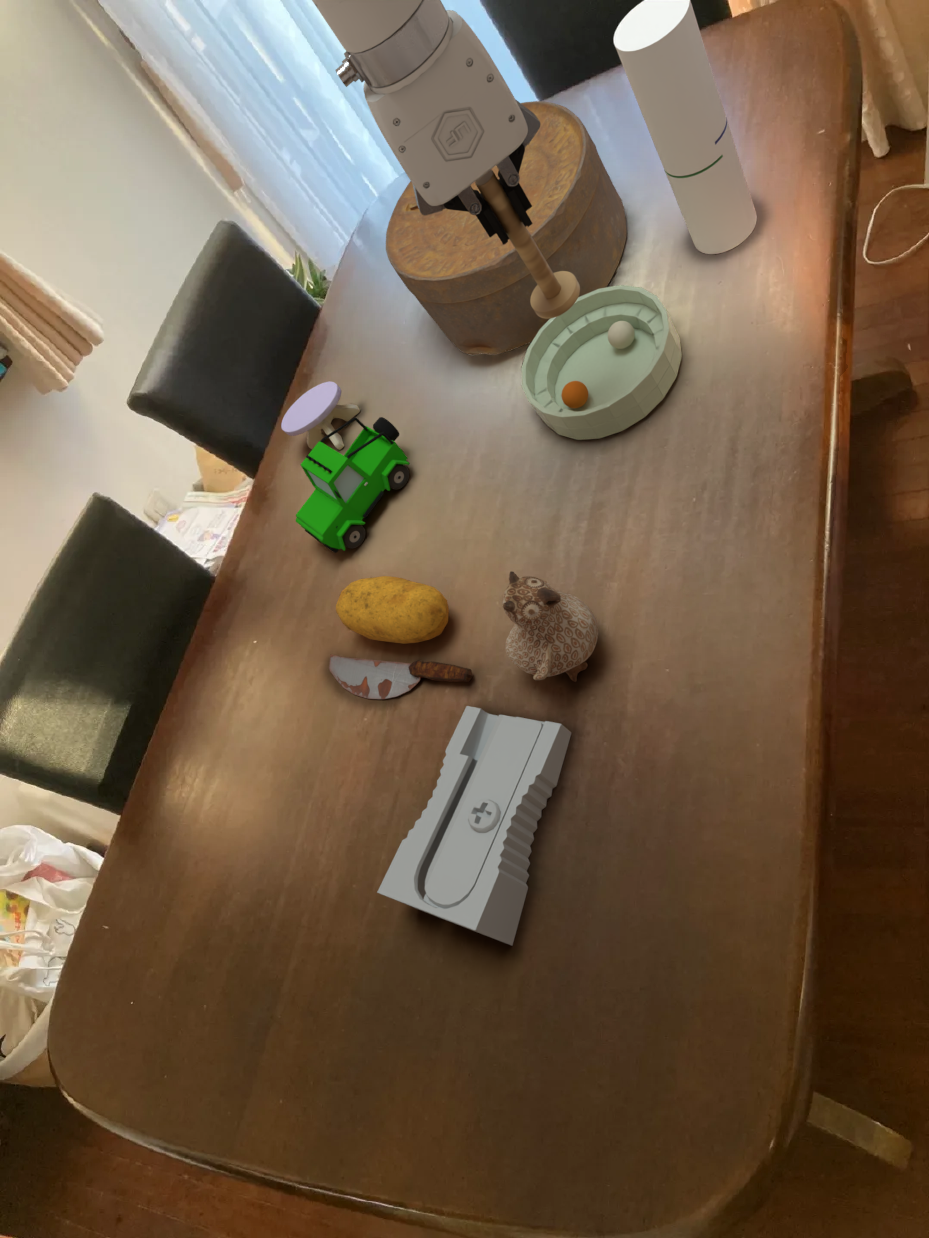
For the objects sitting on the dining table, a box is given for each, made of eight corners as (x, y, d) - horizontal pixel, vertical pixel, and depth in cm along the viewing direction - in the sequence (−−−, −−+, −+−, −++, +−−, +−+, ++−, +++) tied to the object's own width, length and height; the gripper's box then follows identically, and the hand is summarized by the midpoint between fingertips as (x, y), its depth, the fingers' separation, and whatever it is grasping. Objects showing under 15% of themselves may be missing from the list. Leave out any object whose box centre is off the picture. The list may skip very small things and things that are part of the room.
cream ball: (632, 328, 94) (623, 310, 92) (642, 343, 92) (633, 326, 90) (609, 343, 95) (599, 326, 93) (618, 359, 93) (609, 342, 91)
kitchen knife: (316, 689, 97) (326, 649, 98) (326, 692, 98) (336, 652, 99) (457, 711, 84) (467, 664, 85) (466, 714, 86) (476, 668, 87)
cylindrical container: (769, 206, 92) (705, -14, 72) (734, 258, 91) (660, 50, 72) (715, 201, 96) (641, -8, 77) (681, 250, 96) (599, 52, 77)
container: (496, 397, 101) (432, 311, 90) (414, 306, 119) (352, 224, 108) (677, 239, 97) (634, 129, 86) (564, 169, 115) (516, 70, 104)
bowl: (647, 290, 96) (632, 259, 92) (708, 382, 86) (694, 351, 82) (523, 374, 101) (503, 348, 97) (567, 469, 92) (548, 444, 88)
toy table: (309, 468, 116) (281, 446, 112) (306, 423, 121) (280, 399, 116) (365, 437, 112) (338, 412, 108) (360, 391, 117) (334, 366, 113)
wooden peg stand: (570, 269, 83) (500, 145, 71) (587, 297, 80) (517, 172, 68) (528, 299, 84) (452, 181, 73) (543, 327, 81) (467, 210, 70)
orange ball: (587, 387, 94) (576, 370, 92) (596, 403, 92) (585, 387, 90) (564, 401, 95) (553, 385, 93) (573, 418, 93) (562, 402, 91)
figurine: (617, 694, 77) (549, 634, 66) (526, 704, 82) (447, 650, 71) (617, 607, 81) (552, 536, 70) (529, 622, 86) (455, 558, 74)
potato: (376, 588, 100) (340, 562, 94) (472, 599, 91) (438, 571, 86) (355, 642, 98) (317, 619, 92) (451, 659, 89) (415, 635, 84)
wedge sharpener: (417, 909, 79) (374, 899, 74) (478, 713, 85) (442, 691, 79) (512, 945, 73) (473, 938, 68) (571, 731, 78) (539, 708, 73)
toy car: (315, 538, 109) (263, 500, 102) (393, 435, 110) (346, 389, 102) (349, 564, 104) (296, 526, 96) (430, 455, 104) (384, 408, 96)
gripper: (324, 130, 61) (452, 301, 75) (504, -21, 56) (604, 192, 70) (309, 88, 65) (433, 257, 79) (475, -56, 60) (575, 151, 75)
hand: (513, 225), depth 75 cm, fingers closed on wooden peg stand
